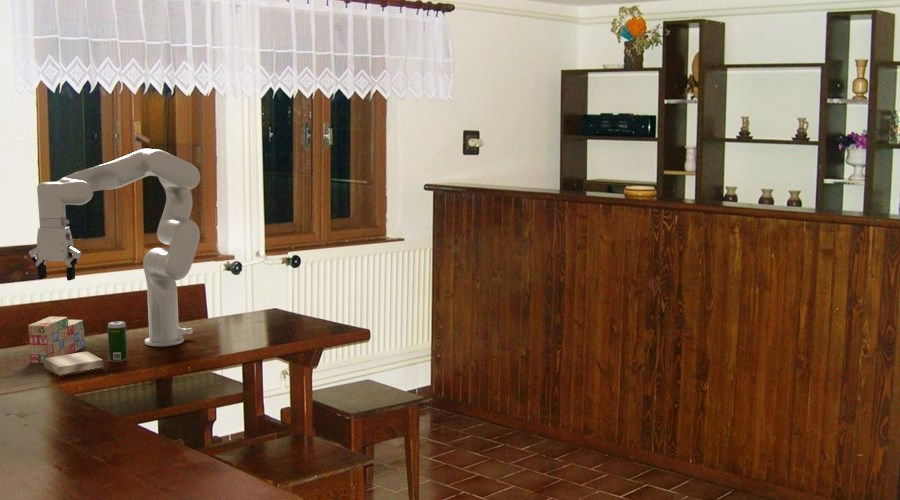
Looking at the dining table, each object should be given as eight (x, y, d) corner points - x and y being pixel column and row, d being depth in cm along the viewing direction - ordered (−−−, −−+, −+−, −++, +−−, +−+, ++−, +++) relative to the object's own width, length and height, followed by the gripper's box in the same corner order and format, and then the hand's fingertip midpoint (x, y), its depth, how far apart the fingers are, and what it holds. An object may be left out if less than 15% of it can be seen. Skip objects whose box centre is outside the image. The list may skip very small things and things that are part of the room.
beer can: (128, 362, 322) (126, 324, 320) (109, 363, 320) (107, 325, 318) (127, 357, 327) (125, 320, 325) (109, 359, 325) (107, 321, 323)
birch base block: (87, 360, 324) (86, 351, 323) (103, 369, 314) (102, 359, 313) (44, 367, 315) (44, 358, 315) (59, 377, 306) (59, 367, 305)
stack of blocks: (67, 346, 342) (65, 310, 340) (85, 347, 341) (83, 310, 339) (30, 363, 321) (27, 324, 319) (48, 364, 320) (46, 325, 318)
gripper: (85, 222, 315) (89, 277, 318) (35, 220, 319) (39, 275, 322) (71, 225, 308) (75, 282, 311) (19, 224, 312) (24, 280, 315)
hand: (56, 279), depth 316 cm, fingers open, 9 cm apart
